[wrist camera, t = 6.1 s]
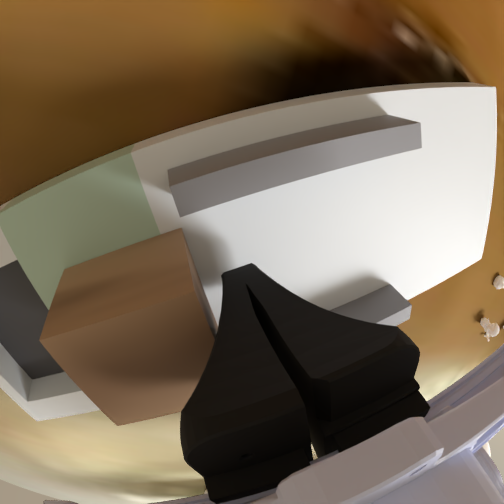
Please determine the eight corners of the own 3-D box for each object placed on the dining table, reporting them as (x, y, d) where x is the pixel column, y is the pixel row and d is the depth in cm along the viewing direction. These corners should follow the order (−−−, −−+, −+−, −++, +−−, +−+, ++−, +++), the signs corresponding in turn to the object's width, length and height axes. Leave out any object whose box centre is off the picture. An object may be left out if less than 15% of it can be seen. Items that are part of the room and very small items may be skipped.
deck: (463, 245, 20) (500, 272, 17) (40, 397, 16) (33, 446, 13) (470, 82, 14) (522, 93, 10) (-70, 251, 10) (-106, 294, 6)
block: (217, 324, 14) (238, 393, 11) (117, 354, 13) (117, 425, 10) (181, 227, 11) (194, 291, 8) (64, 269, 11) (39, 340, 7)
